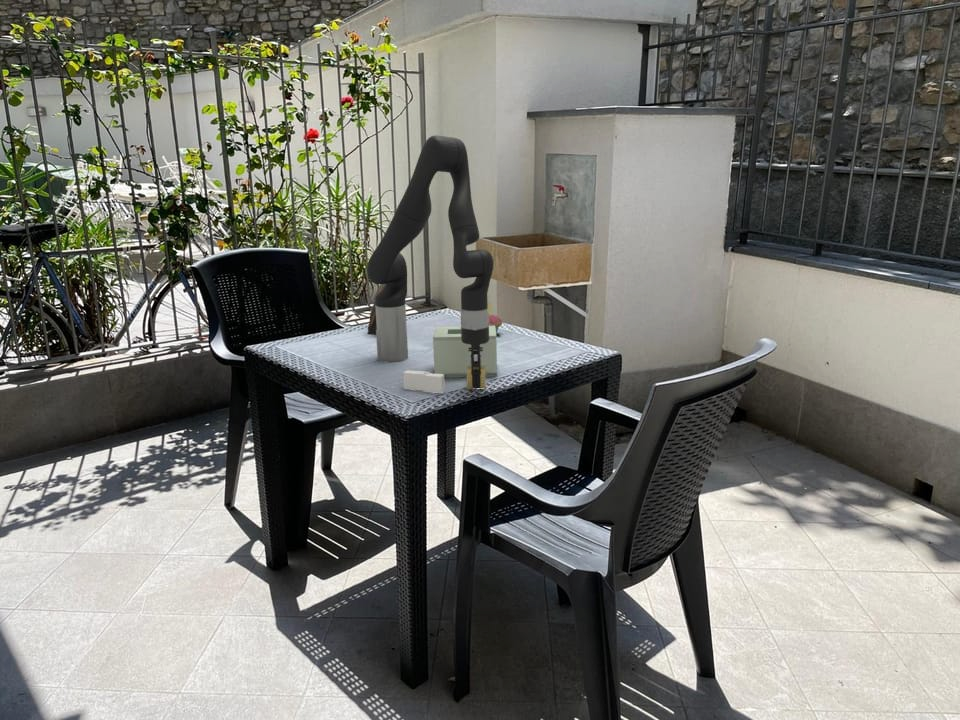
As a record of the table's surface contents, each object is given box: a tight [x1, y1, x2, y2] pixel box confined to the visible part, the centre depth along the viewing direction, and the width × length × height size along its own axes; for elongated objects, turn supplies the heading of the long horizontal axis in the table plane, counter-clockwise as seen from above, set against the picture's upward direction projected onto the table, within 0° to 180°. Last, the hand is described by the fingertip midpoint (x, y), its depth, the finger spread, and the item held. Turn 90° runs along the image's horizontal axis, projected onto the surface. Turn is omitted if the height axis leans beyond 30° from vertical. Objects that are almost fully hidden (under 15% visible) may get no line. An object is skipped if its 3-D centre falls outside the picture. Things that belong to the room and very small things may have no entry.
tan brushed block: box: [466, 365, 487, 389], centre depth 204 cm, size 5×3×6 cm, turn 90°
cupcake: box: [488, 299, 503, 335], centre depth 257 cm, size 9×8×12 cm
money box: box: [432, 325, 498, 378], centre depth 218 cm, size 18×12×12 cm, turn 91°
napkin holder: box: [402, 370, 446, 394], centre depth 202 cm, size 15×11×6 cm
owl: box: [367, 284, 385, 336], centre depth 262 cm, size 13×13×20 cm
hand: (476, 383), depth 204 cm, fingers open, 6 cm apart
